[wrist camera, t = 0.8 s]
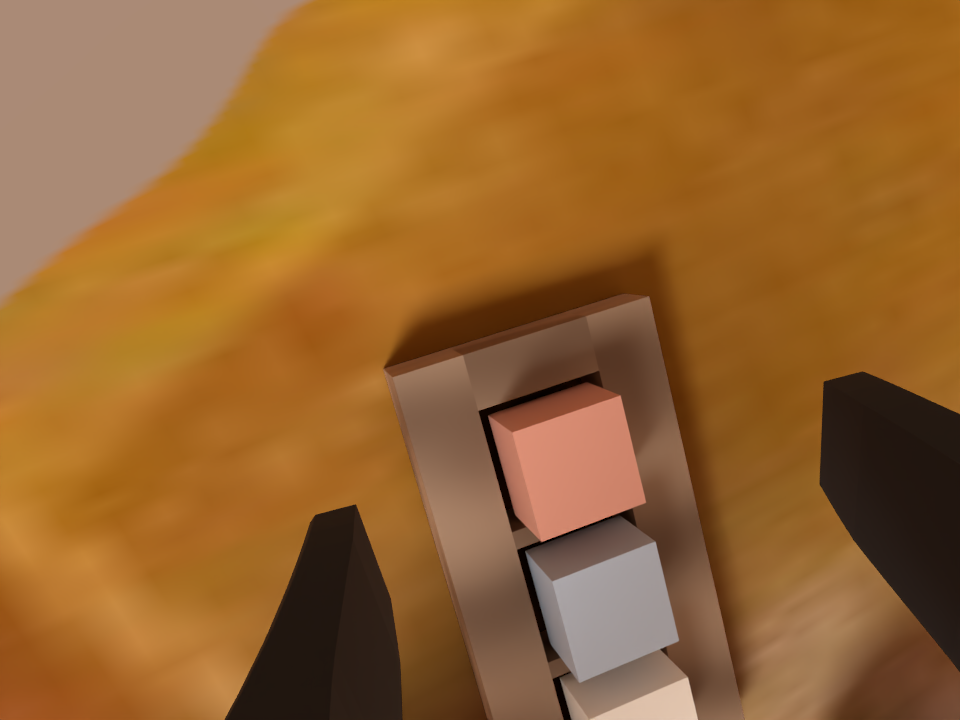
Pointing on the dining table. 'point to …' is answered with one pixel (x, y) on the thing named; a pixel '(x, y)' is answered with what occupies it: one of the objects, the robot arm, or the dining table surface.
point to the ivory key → (632, 692)
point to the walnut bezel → (499, 533)
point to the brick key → (567, 459)
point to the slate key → (602, 596)
